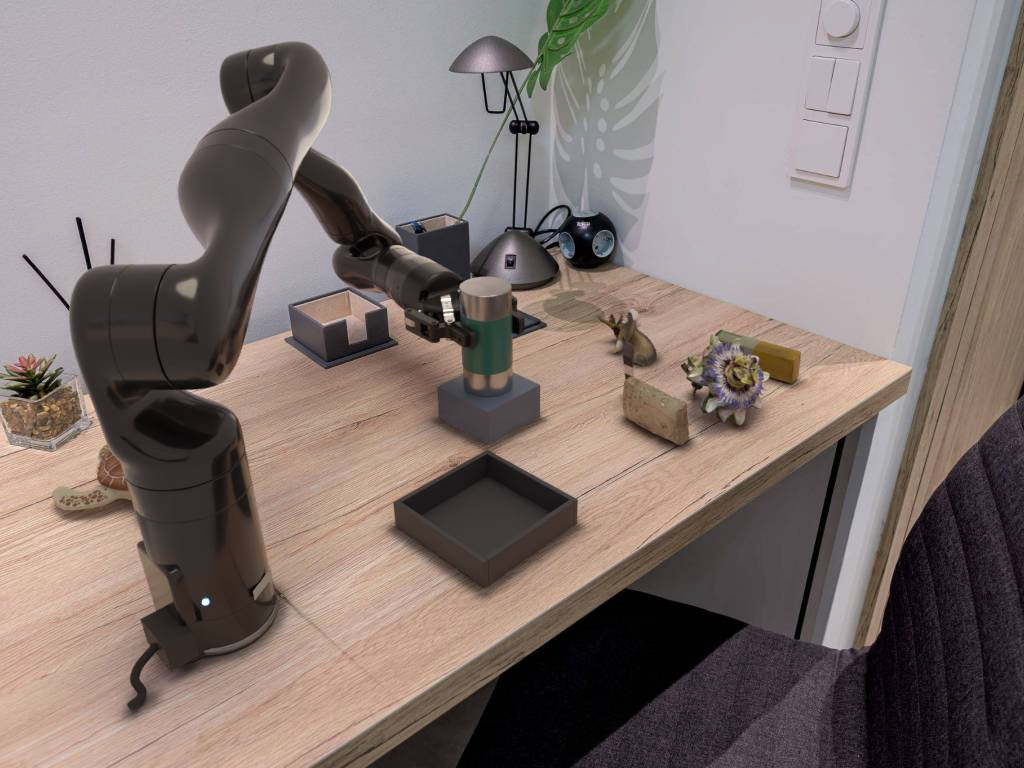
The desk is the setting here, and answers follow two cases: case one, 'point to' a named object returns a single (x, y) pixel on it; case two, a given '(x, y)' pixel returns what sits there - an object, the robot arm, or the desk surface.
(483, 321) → the can
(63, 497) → the decorative turtle
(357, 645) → the desk surface
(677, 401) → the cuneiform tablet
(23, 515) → the desk surface
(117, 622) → the desk surface
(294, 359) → the desk surface
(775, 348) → the medication box
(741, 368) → the passion flower
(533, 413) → the stand
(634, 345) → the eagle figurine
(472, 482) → the tray
